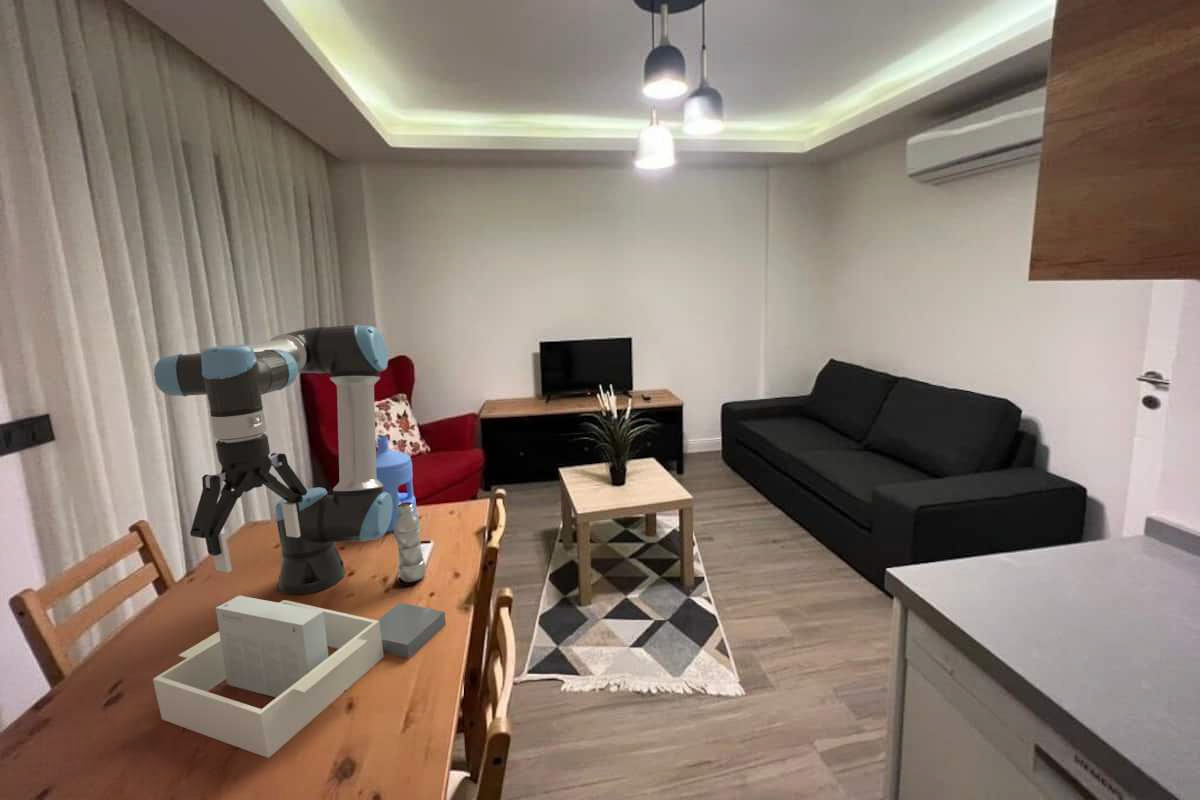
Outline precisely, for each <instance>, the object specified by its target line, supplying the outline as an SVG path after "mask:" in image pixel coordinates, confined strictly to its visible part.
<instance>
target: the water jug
mask: <svg viewBox="0 0 1200 800" xmlns="http://www.w3.org/2000/svg"><path fill="white" fill-rule="evenodd" d="M388 439H389V437H388V436H386V435H385V436H378V437H377V438H376V440H377V442H376V443H377V444H376V446H377V450H376V475H377V480H378V481H379V482H381V483H382V484H383V492H387V493H389V494H390V495H391V497H392V498H391V499H392V502H393V509H392V516H391V521H390V524H389V526H388V529H387V531H386V533H391V532H394V529H393V525H394V522H395V520H396V518H397V517H398V515H399V514H397V505H398V504H400V503H403V502H411V503H412V504H413V509H414V511H413V513H414V514H415V515H416V516H417V517H418V518H419V516H418V515H419V513H418V510H417V503H416V497H415V495H414V486H413V477H414V475H413V474H414V473H413V462H412V458H411V455H409V454H407V453H404V452H400V451H396V450H394V449H393V450H392V449H390V447H389V441H388ZM405 484H406V491H407V492H399V487H400V486H402V485H405Z"/></svg>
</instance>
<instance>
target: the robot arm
mask: <svg viewBox="0 0 1200 800" xmlns="http://www.w3.org/2000/svg"><path fill="white" fill-rule="evenodd" d="M388 352H389V351H388V349H387V345H386V341H385V339H384V337H383V334H382V333H381V332H380V331H379V329H377V328H376V327H375V326H372V325H357V324H355V325H340V326H339V325H337V326H318V327H309V328H305V329H299V330H296V331H290V332H288V333H283V334H278V335H275V336H273V337H272V338H271V339H270V340H269V341H263V342H262V341H261V342H256V343H255V342H254V343H250V344H230V345H218V346H217V345H216V346H210V347H209V346H208V347H206V348H204V349H203V350H202V351H201V352H198V353H190V354H189V353H188V354H183V353H178V354H175V355H174V354H172V355H166V356H163V357H161V358H160V359H158V361H157V362H156V364H155V366H154V370H153V376H154V379H155V380H154V381H155V385H156V386H157V388H158V389H159V391H161V392H162V393H163V394H165V395H167V396H179V397H181V396H182V397H188V396H200V395H201V396H204V395H205V396H207V402H208V404H209V405H208V406H209V413H210V418H211V420H210V421H211V427H212V432H213V438H215V439H216V440H217V441H216V443H215V447H216V453H217V454H216V455H217V459H218V462H219V464H220V466H221V471H220V473H217V474H204V475H203V476H202V478H201V479H202V490H201V494H200V497H199V501H198V505H197V509H196V511H195V515H194V518H193V522H192V526H191V528H190V533H189V534H190V537H194V538H195V537H196V538H200V539H205V543H206V549H207V553H208V554H209V556H213V561H214V566H215V571H217V572H223V573H227V574H228V573H230V572H232V571H233V568H232V563H231V559H230V553H229V546H228V542H227V536H226V533H222V531H223V528H224V527H225V525H226V522H227V520H228V519H229V516H230V515H231V512H232V510H233V509H234V507H235V504H236V503H237V501H238V499H240V498H241V497H242V495H243V494H244V493H248V492H249V491H252V490H253V489H256V488H260V487H261V488H262V487H263V485H264V486H265V488H267V489H269V490H270V491H272V492H274V493H275V495H277V496H278V497H280V498H281V499H280V500H278V502H277V503H276V505H275V522H276V526H277V531H278V537H279V542H280V549H281V555H282V561H281V566H280V572H279V575H278V578H277V579H278V580H277V582H278V586H279V588H278V589H279V591H280V592H282V593H283V594H284V595H291V596H295V595H296V596H301V595H308V594H309V595H310V594H312V593H316V592H320V591H322V590H325V589H327V588H329V587H332V586H333V585H336V584H337V583H338V582H340V581H341V580H342V579H343V578H344V577H345V574H346V568H345V563H344V560H343V559H342V557H341V556H340V554H339V552H338V549H336V546H335V543H343V542H345V543H346V542H362V543H364V542H366V541H376V540H379V539H381V538H382V537H384V535H385V534H386V533H387V532H386V531H387V529H388V526H389V524H390V521H391V516H392V509H393V502H392V499H391V498H392V497H391V495H390V494H389V493H387V492H383V484H382V483H381V482H379V481H378V480H377V475H376V452H377V450H376V449H377V447H376V446H377V444H376V443H377V442H376V414H375V412H376V411H375V385H376V383H377V382H378V381H380V380H381V372H383V371H384V372H385V371H386V370H387V368H388V363H389V354H388ZM299 373H303V374H304V373H305V374H306V373H308V374H329V380H330V381H331V382H333V383H334V384H335V386H336V396H337V398H336V399H337V400H336V401H337V405H336V406H337V434H338V435H337V436H338V437H337V439H338V469H339V470H338V471H339V476H338V477H339V481H338V483H337V484H336V485H335V486H334V487H333V489H332V494H329V495H328V491H327V490H326V488H325V487H321V486H320V487H310V488H307V489H306V487H305V486H304V484H303V483H302V481H301V479H300V478H299V477H298V476H297V474H296V473H295V472H294V470H293V468H292V467H291V466H290V465H289V462H288V458H287V456H286V454H285V453H279V452H272V453H271V450H270V449H271V448H270V444H269V436H268V435H267V434H266V431H267V426H266V425H267V424H266V419H265V411H264V407H263V400H262V395H266V394H269V393H272V392H275V391H281V390H283V389H284V388H286V387H288V386H290V385H292V384H293V383H294V382H295V381H296V379H297V377H298V374H299ZM269 455H270V456H269ZM272 467H273V468H274V470H275V472H277V474H278V475H279V477H280V478H281V480H282V481H283V482H284V483H285V484H283V483H282V482H281V481H279V480H278V478H277V477H276V476H274V475H273V474H272V473H271V472H270V471H271V468H272ZM223 482H224V483H223ZM221 487H222V489H221Z"/></svg>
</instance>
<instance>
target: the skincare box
mask: <svg viewBox="0 0 1200 800" xmlns="http://www.w3.org/2000/svg"><path fill="white" fill-rule="evenodd" d="M215 615H216V617H217V624H218V625H217V626H218V631H219V633H220V641H221V647H222V654H223V658H224V665H225V673H226V679H225V680H226V685H228V686H231V687H234V688H237V689H243V690H246V691H249V692H254V693H257V694H260V695H263V696H264V695H265V696H269V697H272V698H277V697H278V696H279V695H281V694H282V693H283V692H284V691H286V690H287V689H288V688H290V687H291V686H292V685H293V684H295V683H296V682H297V681H299V680H300V679H301V678H302V677H304V676H305V675H306V674H308V673H309V672H310V671H311V670H313V669H314V668H315V667H317V666H318V665H319V664H320V663H322V662H323V661H324V660H326V659H327V658H328V657H329V648H328V646H327V640H326V632H325V624H324V615H323V611H319V610H314V609H309V608H303V607H298V606H293V605H288V604H282V603H279V602H278V601H277V602H276V601H271V600H266V599H265V600H264V599H261V598H260V599H259V598H254V597H250V596H244V595H237V596H235V597H234V598H233V597H232V598H231V599H230V600H227V601H226V602H224V603H222V604H220V605H218V606H216V607H215Z"/></svg>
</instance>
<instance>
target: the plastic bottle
mask: <svg viewBox="0 0 1200 800" xmlns="http://www.w3.org/2000/svg"><path fill="white" fill-rule="evenodd" d="M413 511H414V509H413V504H412V503H411V502H403V503H400V504H398V505H397V514H399V515H398V517H397V518H396V520H395V522H394V525H393V529H394V531H393V534H394V536H395V540H396V545H397V550H398V575H399V578H400V580H402V581H403V582H405V583H413V582H416V581H419V580H421V579H423V577H424V576H425V574H426V569H427V568H426V567H427V566H426V563H425V562H426V561H425V559H424V556H423V552H422V547H421V545H422V544H421V520H420V518H419V516H418V517H417V516H416V515H415V514H414V513H413Z"/></svg>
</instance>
